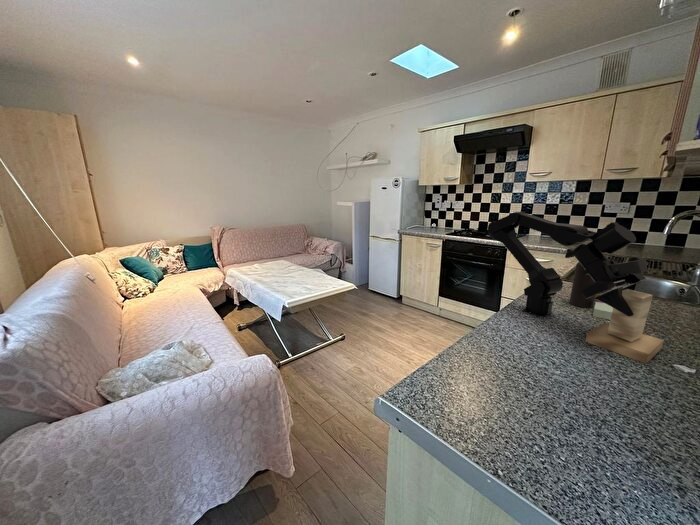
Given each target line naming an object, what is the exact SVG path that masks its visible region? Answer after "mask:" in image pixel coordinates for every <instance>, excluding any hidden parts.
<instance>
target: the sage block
mask: <svg viewBox="0 0 700 525" xmlns="http://www.w3.org/2000/svg"><path fill="white" fill-rule="evenodd" d="M612 311H613V307H611V306H609V305H607V304H605V303H600V302H596V304H595V303H594V306H593V313H592V317H595V318H596V317H597V318H600V319H604V320H609V321H610V319H611V315H612Z"/></svg>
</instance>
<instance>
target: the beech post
mask: <svg viewBox="0 0 700 525" xmlns="http://www.w3.org/2000/svg"><path fill="white" fill-rule="evenodd" d="M622 296H623V298H624V299H625V301H626V302H627V304H628V306H629V307H630V309H631V310H632V312H633V314H634V315H633V316H627V315H625V314H623V313H622V312H620V311H618V310H616V309H615V308H613V311H612V315H611V319H610V320H609V323H608V324H609V328H608V332H607V333H608V334H611V335H614V336H617V337H619V338H622V339H625V340H627V341H630V342H632V341H634V340H637V339H639V338H641V337H642V334H644V329H645V326H646V322H647V319H648V315H649V311H650V308H651V303H652V300H653V296H654V294H650V293H646V292H643V291H642V292H641V291H638V290H637V291H634V290H630V289H625V290H622Z"/></svg>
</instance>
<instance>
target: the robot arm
mask: <svg viewBox="0 0 700 525" xmlns="http://www.w3.org/2000/svg"><path fill="white" fill-rule="evenodd" d="M519 226H523V227H525V228H527V229H530V230H533V231H536V232H538V233H542V234H545V235H547V236H549V237H550V238H551V240H553V241H555V242H556V243H558V244H559V245H561V246H565V247H569V246H575V247H574V248H568V249H566V253H565V257H564V258H565V259H569V258H570V259H571V258H574V257H575V259H576V260H577V261H578V262H579V263H580V264H581V265H582V266H583V268H584V269H585V271H583V273H584V274H585V275H587V274H589V275H590V277H591V278H592V279H593V280H594V283H592V284H590V285H588V286H586V287H584V288H582V291H581V293H582V294H583V296H584V297H585V298H586V299H587V298H590V297H593V295H596V294H598V295H599V296H597V297H595V299H598V300H600V301H602V302H604V303H605V304H607V305H609V306H611V307H613V308H615V309H616V310H618V311H620V312H622V313H623V314H625V315H627V316H633V315H634V314H633V312H632V310H631V309H630V307H629V306H628V304H627V302H626V301H625V299H624V298H623V296H622V290H625V289H630V290H634V291H638V289H639V288H640V287H639V286H640V285H641V284H642V281H644V280H647V279H646V277H645V276H644V275H643V273H644V272H649V270H648V267H647V266H648V265H649V263H650V262H648V261H647V260H646V258H642V257H641V255H640V256H639V255H638V256H632V257H629V258H628V260H627V261H625V262H619V263H618V262H617V261H616V260H615V259H609V258H608V257H607V256H606V255H605V254H606V253H607V254H610V255H611V254H615V253H616V252H618V251H620V250H622V249H624V248H626V247H627V246H629V245H631V244H633V243H636V241H637V237H636V235H635V233H633V232H632V230H631V229H628V228H626V227H625V226H623V225H621V224H619V222H617V221H612V222H609V223H608V224H606V226H605V227H603V228H602V229H600V230H598V231H592V230H590V229H588V228H587V227H586V226H584V225H580V224H579V225H578V224H571V223H562V222H560V223H559V222H556V221H552V220H549V219H545V218H543V217H539V216H536V215H533V214H529V213H527V212H525V211H515V212H512V213H510V214H508V215H507V216H505V217H502V218H499V219H497V220H493V221H491V222H489V223H488V226H487V230H486V231H487V233H488V235H489V236H491V238H492V239H494V240H495V241H497V242H499V243H501V244H503V245H504V247H505V248H506V249H507V250H508V251H509V253H510V254H511V255H512V256H513V258H514V259H515V260H516V261H517V263H518V264H519V265H520V266H521V267H522V268H523V270H524V271H525V272H526V273H527V275H528V282H529V284H530V285H528V286H527V287H524V289H523V293H524V295H525V297H526V302H525V308H522V311H523V312H525V313H528V314H531V315H534V316H537V317H539V318H544V317H546V316H548V315H551V314H552V313H553V311H552V309H553V304H554V302H553V301H552V300H553V297H555V296H556V294H557V293H558V292H560V291H561V290H562V289H563V284H564V282H563V280H562V279H561V278H562V276H561V275H560V274H559V273H558V272H557V271H556V270H555V268H553V267H549V268H546V267H544V266H542V264H541V263H540V262H539V260H537V259H536V258H535V256H534V255H533V254H532V253H531V252H530V250H529V249H528V248H527V247H526V246H525V245H524V243H523V242H521V241H520V239H519V238H518V237H517V234H516V228H518V227H519ZM586 242H589V243H586ZM585 243H586V244H585ZM576 245H577V246H576ZM552 296H553V297H552Z"/></svg>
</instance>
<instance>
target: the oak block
mask: <svg viewBox="0 0 700 525" xmlns="http://www.w3.org/2000/svg"><path fill="white" fill-rule="evenodd" d="M608 328H609V323H608V322H603V323H601V324H600V325H599V326H597V327H594V329H592V330H590V331H588V332H587V333H586V337H585V339H584V340H585V343H589V344H591V345H594V346H597V347H599V348H602V349H605V350H608V351H611V352H613V353H616V354H618V355H622V356H624V357H627V358H630V359H633V360H635V361H638V362H641V363H643V364H647V363H648V362H649V361H651V360H652V359H653V358H654V357H655V356H656V355H657V354H658V353H659V352H660V351H661V350H662V349H663V347H664V346H663V345H664V342H665V340H664V339H661V338H658V337H655V336H651V335H648V334H644V333H642V337H641V338H639V339H637V340H634V341H632V342H630V341H627V340H625V339H622V338H619V337H617V336H614V335H611V334H608V333H607V332H608Z"/></svg>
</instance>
